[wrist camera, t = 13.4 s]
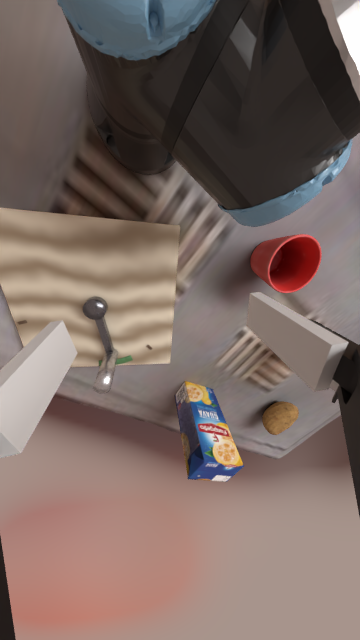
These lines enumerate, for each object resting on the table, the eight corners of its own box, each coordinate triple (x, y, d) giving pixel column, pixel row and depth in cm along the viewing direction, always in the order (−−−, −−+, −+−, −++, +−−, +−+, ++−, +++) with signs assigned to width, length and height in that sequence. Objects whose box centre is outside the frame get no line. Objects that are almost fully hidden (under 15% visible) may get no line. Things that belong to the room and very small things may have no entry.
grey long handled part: (83, 297, 38) (60, 321, 28) (104, 295, 38) (90, 317, 28) (104, 359, 45) (92, 395, 36) (122, 356, 46) (115, 391, 36)
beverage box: (202, 402, 62) (226, 481, 42) (174, 395, 58) (187, 478, 39) (212, 389, 60) (244, 466, 40) (184, 380, 56) (204, 461, 36)
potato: (293, 399, 70) (309, 418, 63) (266, 420, 73) (278, 440, 66) (279, 390, 66) (295, 410, 59) (251, 413, 69) (263, 434, 62)
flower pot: (253, 289, 45) (278, 303, 37) (236, 251, 40) (260, 257, 32) (291, 265, 44) (326, 273, 35) (278, 222, 39) (315, 220, 30)
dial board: (-22, 205, 30) (-31, 204, 28) (179, 225, 36) (180, 225, 34) (35, 364, 45) (31, 369, 43) (169, 359, 51) (170, 363, 49)
